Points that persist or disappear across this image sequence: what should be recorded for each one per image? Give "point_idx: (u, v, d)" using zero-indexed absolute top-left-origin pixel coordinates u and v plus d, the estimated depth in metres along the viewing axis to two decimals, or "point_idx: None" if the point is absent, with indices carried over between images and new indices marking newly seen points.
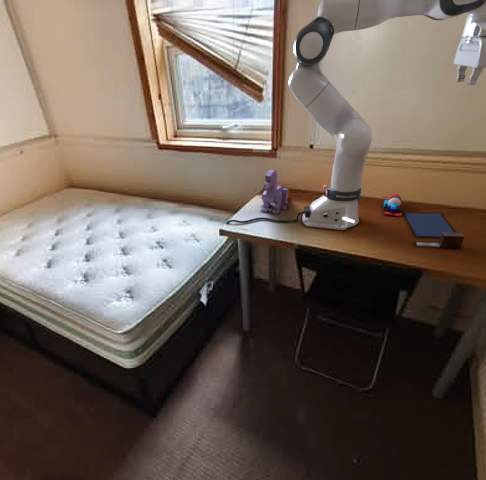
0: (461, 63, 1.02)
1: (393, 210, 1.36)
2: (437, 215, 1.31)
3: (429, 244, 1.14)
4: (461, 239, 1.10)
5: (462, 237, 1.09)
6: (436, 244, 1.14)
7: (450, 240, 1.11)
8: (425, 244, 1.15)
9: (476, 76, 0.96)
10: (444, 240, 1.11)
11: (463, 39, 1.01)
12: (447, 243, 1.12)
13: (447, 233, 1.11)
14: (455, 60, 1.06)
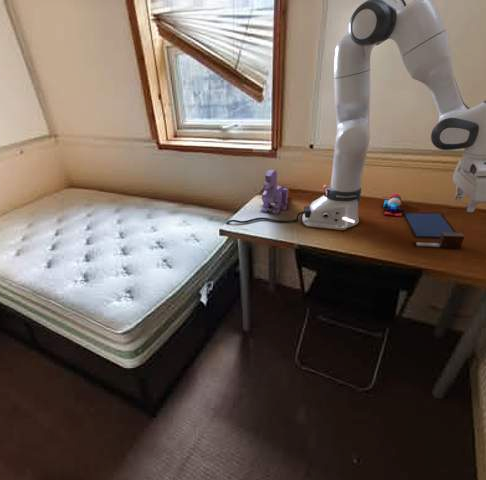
0: (459, 186, 1.05)
1: (393, 210, 1.36)
2: (437, 215, 1.31)
3: (429, 244, 1.14)
4: (461, 239, 1.10)
5: (462, 237, 1.09)
6: (436, 244, 1.14)
7: (450, 240, 1.11)
8: (425, 244, 1.15)
9: (474, 205, 0.99)
10: (444, 240, 1.11)
11: None
12: (447, 243, 1.12)
13: (447, 233, 1.11)
14: (453, 179, 1.09)
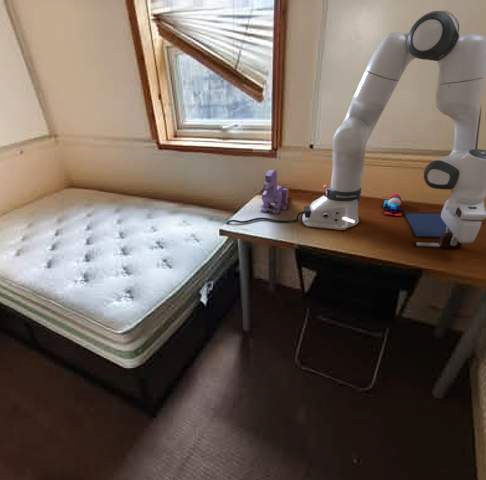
0: (446, 224, 1.12)
1: (393, 210, 1.36)
2: (437, 215, 1.31)
3: (429, 244, 1.14)
4: None
5: None
6: (436, 244, 1.14)
7: None
8: (425, 244, 1.15)
9: (456, 240, 1.09)
10: (444, 240, 1.11)
11: None
12: (447, 243, 1.12)
13: (447, 233, 1.11)
14: (441, 215, 1.16)
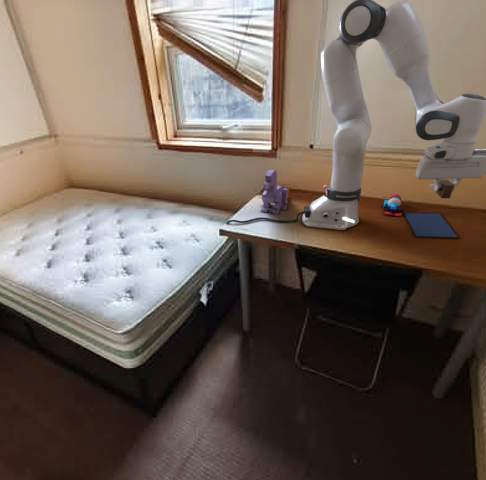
0: None
1: (393, 210, 1.36)
2: (437, 215, 1.31)
3: None
4: (443, 188, 1.13)
5: (444, 186, 1.12)
6: None
7: None
8: (434, 186, 1.22)
9: (436, 184, 1.15)
10: None
11: None
12: None
13: (446, 180, 1.15)
14: None
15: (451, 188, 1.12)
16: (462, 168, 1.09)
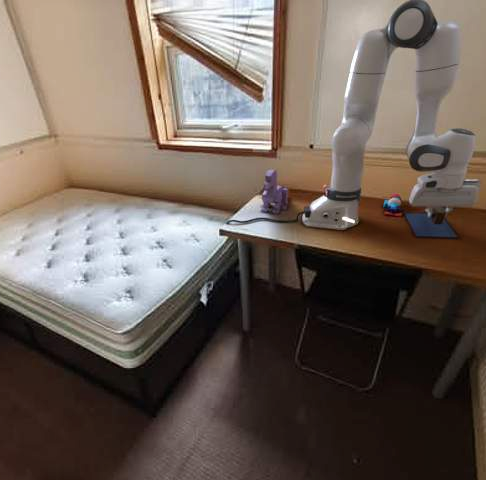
0: None
1: (393, 210, 1.36)
2: None
3: None
4: (436, 215, 1.18)
5: (436, 213, 1.17)
6: None
7: None
8: None
9: (429, 211, 1.20)
10: None
11: None
12: None
13: (439, 207, 1.20)
14: None
15: (443, 215, 1.17)
16: (453, 197, 1.14)
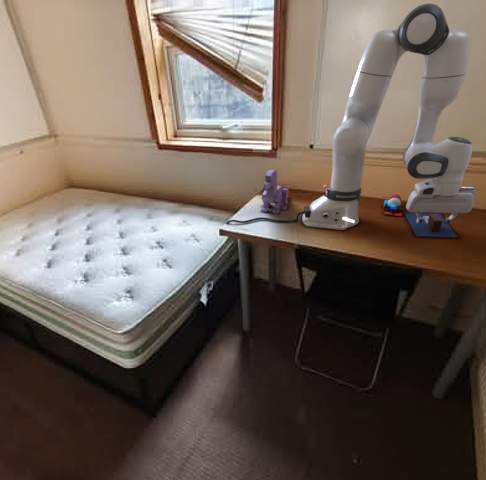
0: None
1: (393, 210, 1.36)
2: None
3: (427, 220, 1.28)
4: (433, 223, 1.20)
5: (433, 221, 1.19)
6: None
7: (430, 220, 1.23)
8: (426, 219, 1.29)
9: (417, 217, 1.22)
10: (429, 218, 1.24)
11: None
12: (429, 223, 1.24)
13: (436, 215, 1.22)
14: None
15: (440, 223, 1.19)
16: (450, 204, 1.16)
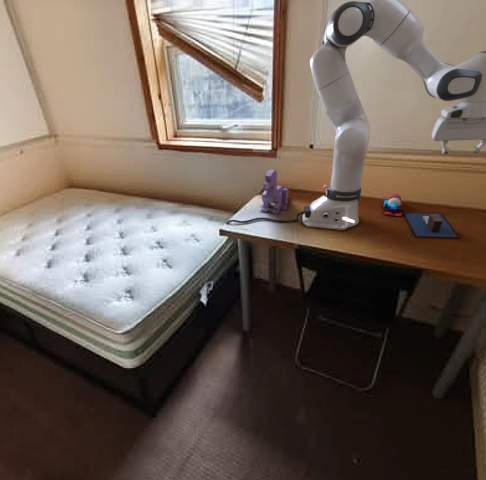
0: None
1: (393, 210, 1.36)
2: None
3: (427, 220, 1.28)
4: (433, 223, 1.20)
5: (433, 221, 1.19)
6: None
7: (430, 220, 1.23)
8: (426, 219, 1.29)
9: (443, 147, 1.16)
10: (429, 218, 1.24)
11: None
12: (429, 223, 1.24)
13: (436, 215, 1.22)
14: None
15: (440, 223, 1.19)
16: (479, 128, 1.09)
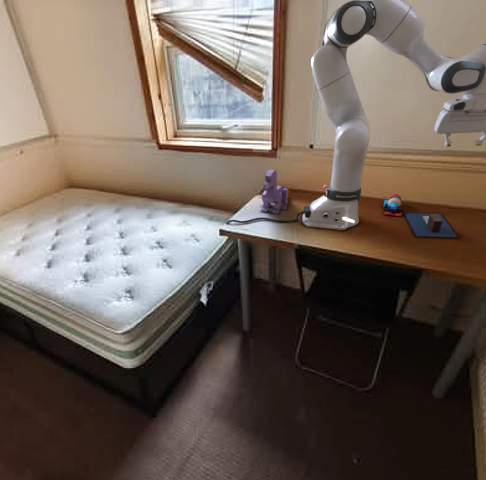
0: None
1: (393, 210, 1.36)
2: None
3: (427, 220, 1.28)
4: (433, 223, 1.20)
5: (433, 221, 1.19)
6: None
7: (430, 220, 1.23)
8: (426, 219, 1.29)
9: (446, 139, 1.17)
10: (429, 218, 1.24)
11: None
12: (429, 223, 1.24)
13: (436, 215, 1.22)
14: None
15: (440, 223, 1.19)
16: (481, 121, 1.10)
